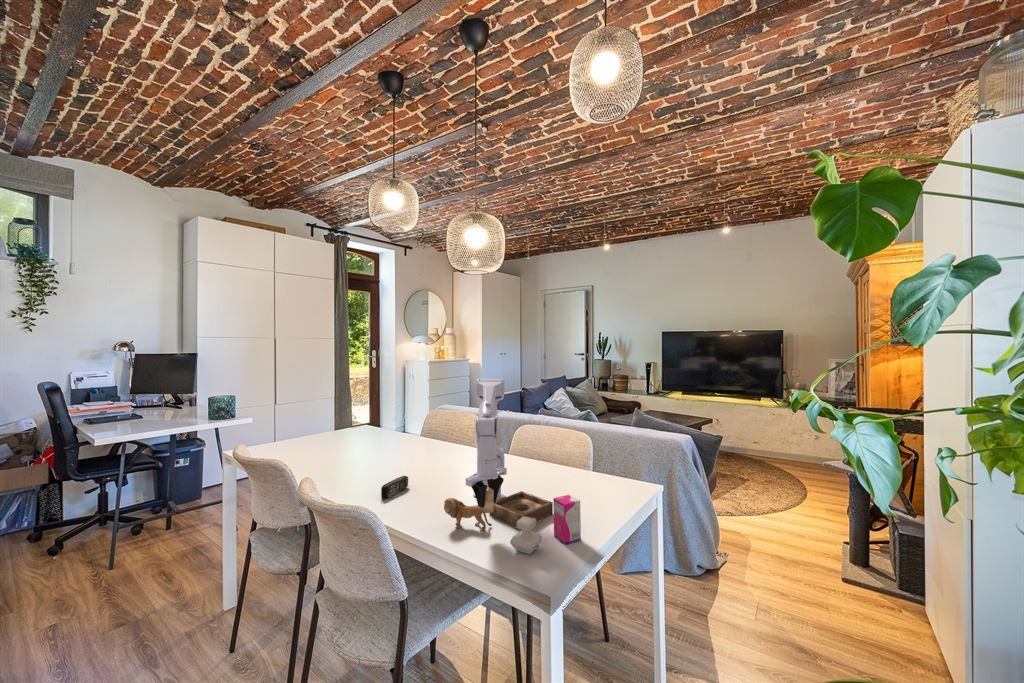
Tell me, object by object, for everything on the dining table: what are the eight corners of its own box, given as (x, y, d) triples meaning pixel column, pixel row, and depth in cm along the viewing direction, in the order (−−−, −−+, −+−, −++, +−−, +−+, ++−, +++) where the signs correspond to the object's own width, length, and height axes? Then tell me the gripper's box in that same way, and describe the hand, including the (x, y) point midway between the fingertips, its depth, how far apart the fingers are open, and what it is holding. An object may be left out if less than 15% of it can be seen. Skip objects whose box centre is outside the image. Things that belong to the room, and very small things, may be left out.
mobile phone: (385, 487, 147) (411, 473, 160) (379, 486, 148) (405, 472, 162) (386, 500, 147) (411, 485, 161) (379, 499, 148) (405, 484, 162)
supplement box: (569, 531, 123) (569, 493, 123) (581, 540, 118) (581, 500, 118) (552, 536, 120) (553, 497, 120) (564, 545, 115) (564, 504, 115)
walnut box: (490, 515, 134) (490, 503, 134) (521, 502, 145) (521, 491, 145) (521, 529, 124) (521, 516, 124) (552, 514, 135) (552, 502, 135)
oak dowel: (477, 510, 121) (477, 489, 121) (487, 506, 124) (487, 486, 124) (486, 514, 118) (486, 493, 118) (496, 510, 121) (496, 489, 121)
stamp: (546, 548, 113) (546, 518, 113) (535, 560, 107) (535, 528, 107) (518, 540, 118) (518, 511, 118) (506, 551, 112) (506, 520, 112)
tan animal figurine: (442, 531, 123) (442, 501, 123) (445, 523, 128) (445, 494, 128) (491, 531, 123) (491, 501, 123) (492, 522, 129) (492, 494, 129)
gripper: (477, 466, 113) (477, 516, 113) (513, 455, 123) (513, 500, 123) (460, 461, 118) (460, 508, 118) (497, 451, 128) (497, 494, 128)
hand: (486, 504), depth 121 cm, fingers closed on oak dowel, 4 cm apart
